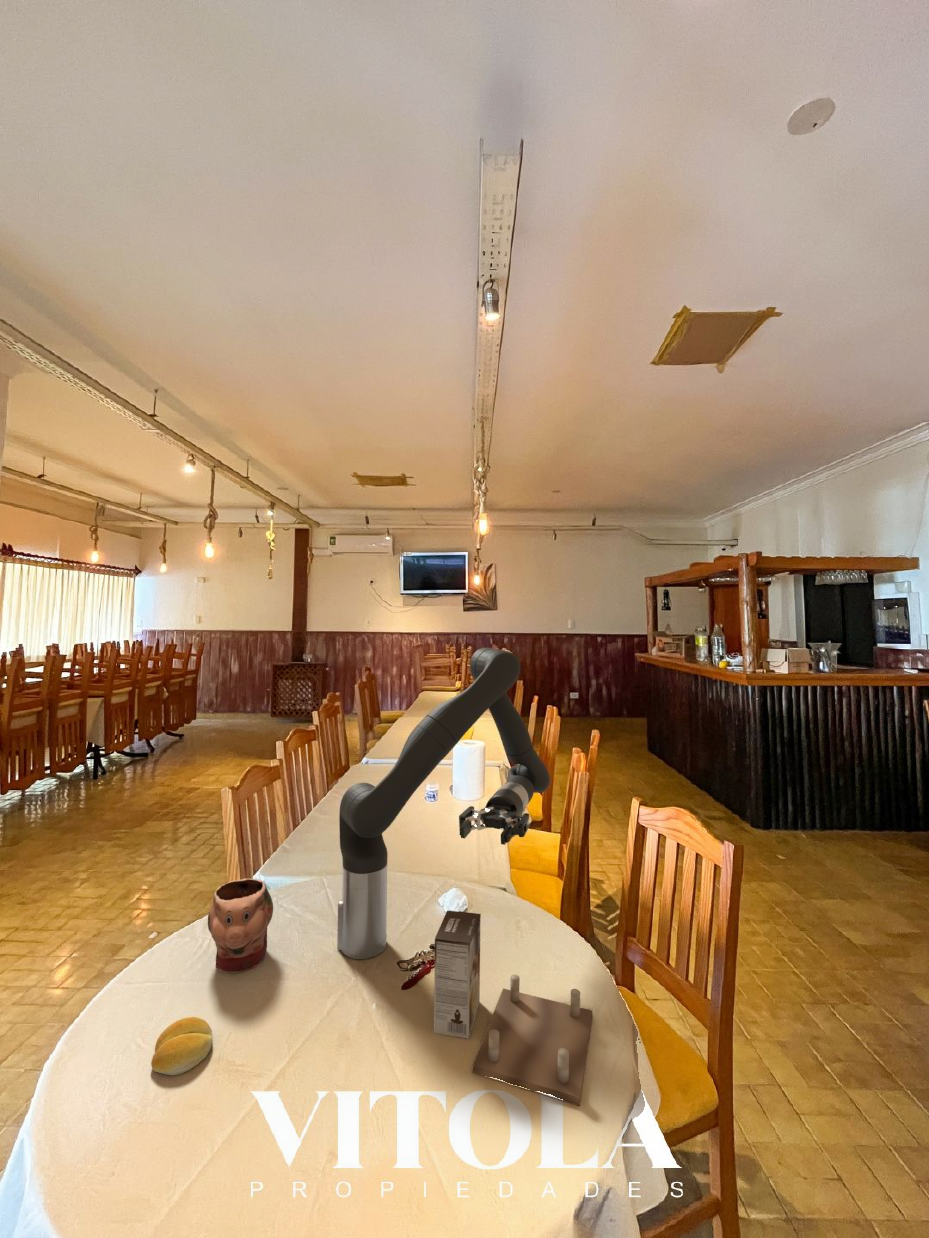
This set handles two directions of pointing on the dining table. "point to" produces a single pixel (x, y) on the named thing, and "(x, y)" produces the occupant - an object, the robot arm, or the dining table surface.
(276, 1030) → the dining table surface
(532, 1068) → the standoff plate
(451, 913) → the coffee box
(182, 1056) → the bread roll
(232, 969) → the decorative planter
